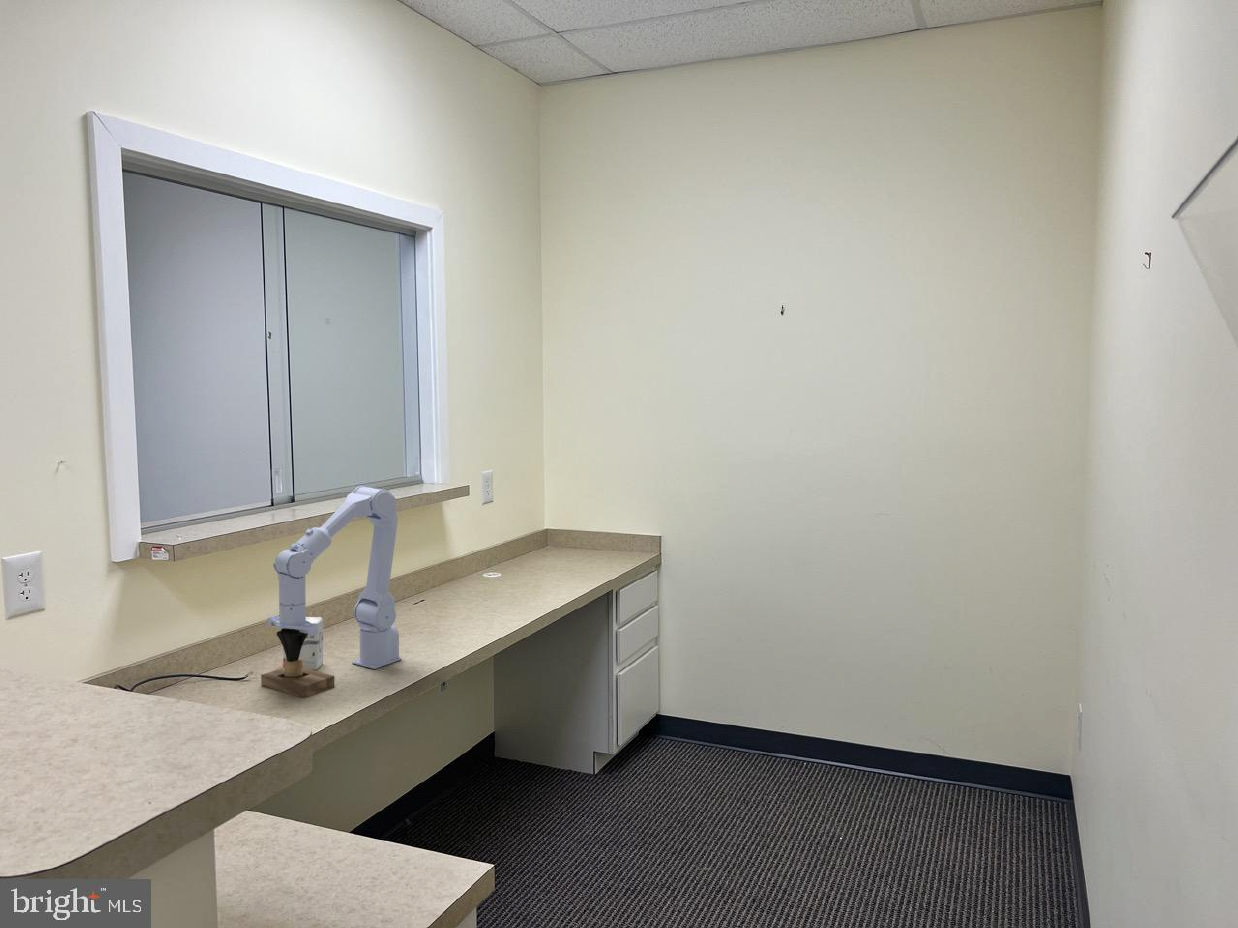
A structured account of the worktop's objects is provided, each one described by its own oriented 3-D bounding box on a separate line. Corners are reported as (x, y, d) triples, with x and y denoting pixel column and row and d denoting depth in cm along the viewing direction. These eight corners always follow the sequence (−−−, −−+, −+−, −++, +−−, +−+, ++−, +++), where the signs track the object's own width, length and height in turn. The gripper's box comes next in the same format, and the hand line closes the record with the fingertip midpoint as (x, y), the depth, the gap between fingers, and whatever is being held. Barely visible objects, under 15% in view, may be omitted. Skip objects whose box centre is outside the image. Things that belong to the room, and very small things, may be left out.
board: (293, 674, 219) (293, 664, 219) (334, 686, 212) (334, 675, 212) (261, 685, 212) (261, 674, 211) (303, 697, 205) (303, 686, 204)
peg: (295, 681, 215) (295, 656, 214) (306, 685, 213) (306, 659, 212) (280, 686, 211) (280, 660, 211) (291, 689, 209) (292, 664, 209)
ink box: (281, 669, 223) (281, 621, 222) (288, 662, 228) (288, 616, 227) (317, 670, 223) (317, 622, 222) (323, 663, 228) (323, 617, 227)
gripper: (256, 601, 210) (257, 659, 212) (300, 611, 203) (300, 671, 204) (282, 595, 216) (282, 651, 218) (325, 604, 209) (325, 662, 210)
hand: (292, 660), depth 211 cm, fingers closed, pressing on peg
